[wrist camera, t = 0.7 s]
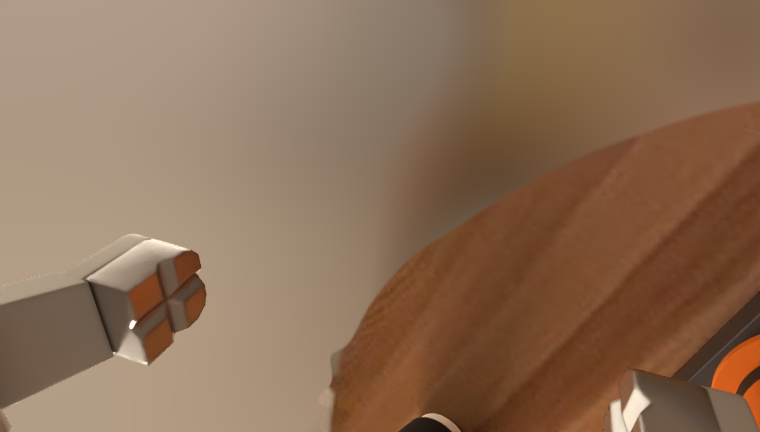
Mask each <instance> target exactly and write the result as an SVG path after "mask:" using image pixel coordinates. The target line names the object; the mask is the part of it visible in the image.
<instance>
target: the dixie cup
mask: <svg viewBox="0 0 760 432" xmlns="http://www.w3.org/2000/svg"><path fill="white" fill-rule="evenodd" d="M399 432H461V431H460V430H459V428H458V427H457V426H456V425H455V424H454V423H453V422H452V421H450V420H449V419H447V418H446V417H444V416H442V415H439V414H435V413H429V414H425V415H423V416H422V417H419V418H416V419H414V420H412V421H411V422H410V423H409V424H407V425H406V426H405V427H404V428H402V429H401V430H400V431H399Z"/></svg>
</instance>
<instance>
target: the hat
mask: <svg viewBox="0 0 760 432" xmlns="http://www.w3.org/2000/svg"><path fill="white" fill-rule="evenodd" d="M711 388H714V389H718V390H722V391H726V392H730V393H734V394H738V395H741V396H742V397H743V398H744V399H745V400H746V401H747V402H748V404H749V406H750V409H751V411H752V414H753V416H754V418H755V421H756V423H757V426H758V428H759V430H760V334H759V335H757V336H754V337H752V338H750V339H748V340H746V341H744V342H743V343H741V344H739V345H738V346H736V347H735V348H734V349H733V350H731V351H730V352H729V353H728V354H727V355H726V356H725V357H724V358H723V360H722V361H721V363H720V364H719V366H718V367H717V369H716V372H715V374H714V377H713V381H712V386H711Z"/></svg>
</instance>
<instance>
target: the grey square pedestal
mask: <svg viewBox="0 0 760 432" xmlns="http://www.w3.org/2000/svg"><path fill="white" fill-rule="evenodd" d="M759 334H760V292H759V293H758V294H757V295H756V296H755V297H754V298H753V299H752V300H751V301H749V302H748V303H747V304H746V305H745V306H744V307H743V308H742V309H741V310H740V311H739V312H738V313H737V314H736V315H735V316H734V317H733V318H732V319H731V320H730V321H729V322H728V323H727V324H726V325H725V326H724V327H723V328H722V329H721V330H720V331H719V332H718V333H717V334H716V335H715V336H714V337H712V338H711V339H710V340H709V341H708V342H707V343H706V344H705V345H704V346H703V347H702V348H701V349H700V350H699V351H698V352H697V353H696V354H695V355H694V356H693V357H692V358H691V359H690V360H689V361H688V362H687V363H686V364H685V365H684V366H683V367H682V368H681V369H680V370H679V371H678V372H677V373H676V374H674V375H673V376H672V377H671V378H673V379H677V380H681V381H685V382H688V383H692V384H696V385H699V386H706V387H710V388H711V386H712V381H713V377H714V374H715V372H716V369H717V367H718V366H719V364H720V363H721V361H722V360H723V358H724V357H725V356H726V355H727V354H728V353H729V352H730V351H731V350H733V349H734V348H735V347H736V346H738V345H739V344H741V343H743V342H744V341H746V340H748V339H750V338H752V337H754V336H757V335H759Z"/></svg>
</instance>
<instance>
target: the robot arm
mask: <svg viewBox="0 0 760 432" xmlns="http://www.w3.org/2000/svg"><path fill="white" fill-rule="evenodd" d="M200 269H201V264H200V260H199V255H198V254H197V253H195V252H194V251H192V250H190V249H187V248H183V247H180V246H177V245H173V244H170V243H167V242H163V241H160V240H157V239H151V238H147V237H145V236H141V235H138V234H128V235H125V236H123V237H121V238H120V239H118V240H116V241H115V242H113V243H111V244H110V245H108V246H106V247H105V248H103V249H101V250H100V251H98V252H96V253H95V254H93V255H91V256H90V257H88V258H86V259H85V260H83V261H81V262H80V263H78V264H76V265H75V266H73V267H71V268H70V269H68V270H66V271H65V272H63V273H59V272H52V273H48V274H44V275H40V276H36V277H33V278H29V279H24V280H20V281H17V282H12V283H9V284H5V285H1V286H0V432H9V431H10V428H11V425H10V424H9V422H8V420H7V418H6V417H5V414H4V413H3V411H2V410H3V409H5V408H7V407H9V406H11V405H13V404H16V403H18V402H20V401H22V400H24V399H26V398H28V397H30V396H32V395H34V394H36V393H38V392H40V391H43V390H44V389H47V388H49V387H51V386H53V385H55V384H57V383H59V382H62V381H64V380H66V379H68V378H70V377H72V376H74V375H76V374H78V373H80V372H82V371H85V370H87V369H89V368H91V367H93V366H95V365H97V364H99V363H101V362H103V361H105V360H107V359H110V358H112V357H113V354H115V355H118V356H121V357H124V358H127V359H130V360H133V361H136V362H139V363H142V364H145V365H148V366H149V365H150V364H151V363H152V362H153V361H154V360H155V359H156V358H157V357H158V356H159V355H161V354H162V353H163V352H164V351H165V350H166V349H167V348H168V347H169V346H170V345H171V344H172V343H173V342H174V336H175V333H176V332H178V331H181V330H184V329H186V328H189V327H190V326H191V325H192V324H193V323H194V322H195V321H196V320H197V319H198V318H199V316H200V314H201V312H202V310H203V308H204V306H205V301H206V290H205V285H204V283H203V282H202V280H201V279H200V278H199V276H198V275H197V274H198V272H199V270H200ZM619 394H620V399H618V400H615V401H613V402H611V403H610V405H609V407H608V410H607V413H606V415H605V419H604V424H603V429H602V432H760V430H759V428H758V426H757V423H756V421H755V418H754V416H753V414H752V411H751V409H750V406H749V404H748V402H747V401H746V400H745V399H744V398H743V397H742V396H741V395H738V394H734V393H730V392H726V391H722V390H718V389H714V388H710V387H706V386H699V385H696V384H692V383H688V382H685V381H681V380H677V379H673V378H669V377H665V376H662V375H658V374H654V373H650V372H646V371H642V370H639V369H635V368H631V367H628V368H627V369H626V370H625V371H624V373H623V375H622V377H621V379H620V381H619Z"/></svg>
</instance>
